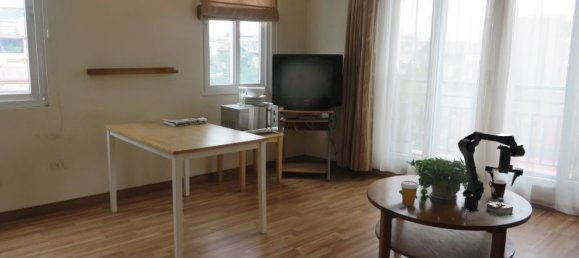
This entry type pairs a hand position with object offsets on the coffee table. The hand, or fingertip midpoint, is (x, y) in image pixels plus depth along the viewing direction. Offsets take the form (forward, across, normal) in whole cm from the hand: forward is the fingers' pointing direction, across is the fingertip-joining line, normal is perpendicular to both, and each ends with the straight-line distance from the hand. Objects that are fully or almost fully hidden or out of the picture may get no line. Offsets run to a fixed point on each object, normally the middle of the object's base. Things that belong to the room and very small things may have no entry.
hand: (502, 185), depth 259 cm
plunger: (+12, 0, -10) cm, 16 cm away
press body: (+13, -1, -9) cm, 15 cm away
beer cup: (+13, -46, -20) cm, 52 cm away
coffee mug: (+13, -3, +18) cm, 23 cm away
